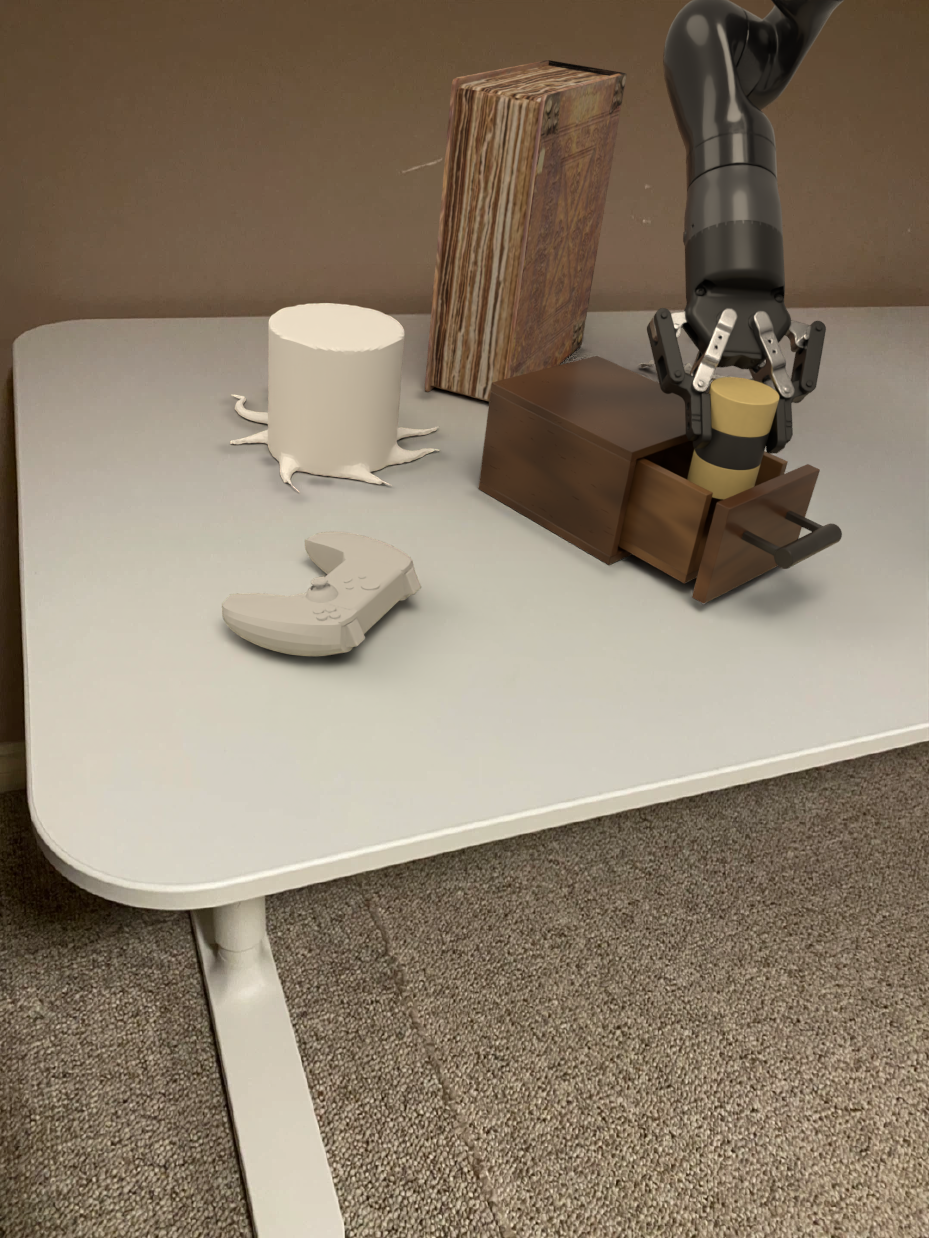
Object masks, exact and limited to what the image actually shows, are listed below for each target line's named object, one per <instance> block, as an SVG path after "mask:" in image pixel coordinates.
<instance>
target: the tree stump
mask: <svg viewBox="0 0 929 1238" xmlns="http://www.w3.org/2000/svg"><path fill="white" fill-rule="evenodd" d="M268 319H269V320H268V328H267V329H268V333H267V334H268V336H267V337H268V339H267V341H268V347H267V351H268V352H267V353H268V354H267V355H268V356H267V357H268V359H267V361H268V362H267V366H268V367H267V368H268V369H267V373H268V374H267V378H268V379H267V388H268V389H267V411H255V410H250V409H247V408H245V406H244V404H245V402H246V401H247V398H246V397H245V396H244V395H239V394H230V397H234V398H236V399H239V400H237V401H236V403H235V405H234V410H235V411H236V412H237V414H238V416H240V417H242V418H244V419H246V420H248V421H253V422H255V423H258V424H259V423H261V424H266V425H267V428H266V429H265V430H262V431H259V432H257V433H254V434H251V435H249V436H245V437H241V438H237V439H233V440H232V439H231V440H229V443H230V445H241V444H257V443H258V444H266V445H267V447H268V451H269V452H270V454H271V456H272V457H273V458H274V459H275V460H276V461H277V462H278V463H279V476H280V477H281V480H282V482H283V484H284V483H285V484H289V485H290V486H291V487H292V488H294V489H295V490H296V491H297V492H299V493H301V492H300V490H299V489H297V488H296V487H295V486H294V484H293V483H292V476H293V474H294V473H295V472H304V473H309V474H310V475H315V476H318V475H320V476H323V477H327V476H328V477H333V478H339V479H340V478H342V479H345V478H346V479H349V480H358V481H360V482H365V483H369V484H376V485H389V486H391V487H393V485H392V484H390V483H388V482H386V481H385V480H382V479H381V478H380V477H378V476H377V475H374V474H373V473H372V472H376V471H380V470H382V469H384V468H387V467H389V466H391V465H392V466H393V465H397V464H400V465H401V464H404V463H411V462H412V461H415V460H418V459H420V458H423V457H424V456H425V455H428V454H430V453H433V452H434V451H436V452H439V451H440V449H439V448H432V447H431V448H428V447H427V448H420V449H415V450H408V449H405V448H402V447H401V446H399V445H398V441H399V440H400V439H401V440H402V439H403V438H409V437H415V436H424V435H425V436H426V435H429V434H431V433H432V432H433V433H434V432H436V431H437V429H438V428H440V425H438V426H434V427H431V428H424V429H422V428H421V429H420V428H418V429H417V428H416V429H415V428H410V427H403V426H402V427H400V426H399V415H400V413H399V412H400V404H401V403H400V401H401V391H402V390H401V388H402V375H403V364H404V363H403V361H404V349H405V348H404V347H405V336H406V334H405V333H406V332H405V329H404V326H403V325H402V324H401V323H400V322H399V321H398V320H397V319H396V318H394V317H393V316H391V315H389V314H385V313H384V312H382V311H380V310H377V309H373V308H369V307H362V306H358V305H351V304H348V303H347V304H346V303H334V302H333V303H331V302H330V303H329V302H320V303H317V302H314V303H304V304H296V305H294V306H287V307H283V308H281V309H279V310H276V312H275V313H273V314H271V316H270V317H269V318H268Z"/></svg>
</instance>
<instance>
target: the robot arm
mask: <svg viewBox="0 0 929 1238" xmlns="http://www.w3.org/2000/svg"><path fill="white" fill-rule="evenodd" d="M770 1H771V2H772V3H773V8H772V9H771V10H770V11H769V13H767V14H766V15H765V17H763V18H761V17H759V16H757V15H756V14H754V13H752V12H750V11H749V10H748V9H745V8H743V7H742V6H739V5H738V4H736V3H735V2H732V1H731V0H690V1H689V2H687V3H686V4H685V5H684V6H683V7H681V9H680V10H679V11H678V13H677V14H676V16H675V17H674V19H673V20H672V22H671V24H670V26H669V29H668V31H667V34H666V37H665V42H664V45H663V54H662V55H663V57H662V67H663V68H662V69H663V79H664V84H665V88H666V90H667V95H668V99H669V102H670V107H671V109H672V112H673V116H674V119H675V123H676V126H677V129H678V132H679V135H680V138H681V139H682V142H683V146H684V148H685V166H686V167H685V170H686V171H685V173H686V176H685V177H686V178H685V179H686V202H685V208H684V209H685V210H684V218H683V227H684V228H683V229H684V230H683V233H682V242H683V245H684V268H685V269H684V274H685V275H684V277H685V279H684V280H685V300H686V305H685V308H684V309H683V311H676V312H675V311H674V312H671V311H670V310H669V308H666V307H660V308H659V309H657V310H656V312H655V313H654V315H653V316H652V318H651V319H650V321H649V322H648V324H647V326H646V332H647V337H648V341H649V346H650V349H651V353H652V358H653V360H654V363H655V364H654V367H655V372H656V375H657V379H658V383H659V384H660V388H661V390H662V391H663V392H664V393H666V394H671V393H674V394H676V395H678V396H680V397H681V398H682V399H683V400H684V402H685V421H686V422H685V426H686V436H687V438H688V440H690V441H693V447H694V448H699V449H704V448H705V447H706V446H707V445H708V444H709V443H710V441H711V438H712V426H711V395H710V394H708V393H707V389H709V387H710V384H711V382H712V381H711V379H712V376H713V373H714V374H715V371H716V369H717V368H728V367H734V368H738V369H741V370H748V371H749V374H750V375H751V378H753V380H754V381H757V382H760V383H763V384H765V385H767V386H769V387H771V388H773V389H774V390H775V391H776V392H777V393H778V394H779V401H778V405H777V408H776V412H775V416H774V419H773V423H772V426H771V430H770V433H769V437H768V440H767V444H766V447H765V451H766V452H767V453H770V454H773V455H776V454H779V453H780V452H781V451H783V449H785V447H786V446H787V444H789V442H791V440H792V439H793V438H792V437H793V436H794V432H793V430H794V429H793V409H792V408H793V407H792V406H793V405H792V404H799V403H801V402H802V401H803V400H804V399H805V398H806V397H807V396H808V395H809V394H811V393H813V391H815V390H816V388H817V385H818V379H819V372H820V366H821V361H822V355H823V351H824V350H823V349H824V344H825V337H826V332H827V327H826V324H825V323H824V321H823V322H822V320H815V321H813V322H812V323H811V324H808V323H804V322H801V321H797V320H794V319H792V317H791V314H790V313H789V311H788V309H787V307H786V303H785V295H786V277H785V274H786V273H785V256H784V255H785V251H784V231H783V230H784V229H783V209H782V202H781V197H780V193H779V185H778V184H779V183H778V167H777V165H778V164H777V162H778V161H777V147H776V145H777V143H776V134H775V130H774V126H773V123H772V122H771V120H770V119H769V118H768V116H767V115H766V114H765V113H764V112H763V111H762V110H764V109H765V108H767V107H769V106H771V104H773V103H774V102H775V101H776V100H777V99H778V98H779V97H780V96H781V95H782V94H783V92H784V91H785V90H786V88H787V87H788V85H789V84H790V82H792V79H793V78H794V76H795V74H796V72H797V71H798V69H799V67H800V66H801V64H802V62H803V61H804V59H805V57H806V56H807V54H808V52H809V51H810V50H811V48H812V46H813V44H814V43H815V42H816V40H817V38H818V36H819V35H820V34H821V32H822V30H823V28H824V26H825V25H826V23H827V21H828V20H829V18H830V17H831V15H832V14H833V12H834V11H835V10H836V9H837V8H838V7H839V6H840V5H841V4H842V3H843V2H844V1H845V0H770ZM682 330H683V331H684V332H685V333H686V335H687V336H688V337H689V339H690V340H691V342H692V343H693V344H694V346H695V347H696V349H697V350H698V351H697V354H696V356H695V359H694V362H693V364H692V365H691V366H692V369H691V372H690V375H689V374H687V373H685V370H684V366H685V365H684V361H683V358H682V354H681V348H680V345H679V341H678V338H680V336H681V334H682ZM784 337H786V338H788V340H789V345H790V351H791V352H792V353H795V354H794V359H793V365H792V370H791V375H789V373H788V371H787V368H786V367H787V360H786V357H785V354H784V353H783V350H782V348H781V345H780V344H779V343H781V341H782V339H783V338H784ZM710 381H711V382H710Z"/></svg>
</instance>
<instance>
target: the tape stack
mask: <svg viewBox="0 0 929 1238" xmlns="http://www.w3.org/2000/svg"><path fill="white" fill-rule="evenodd" d="M750 379H751V378H744V377H737V376H730V377H725V376H724V377H723V378H718V379H715V380H712V381H711V382H710V384H709V386H708V392H707V394H710V395H711V426H712V438H711V441H710V443H709V444H708V445H707V446H706V447H705V448H704V449H699V448H695V449H694V453H693V457H692V461H691V465H690V469H689V473H688V478H687V480H689V481H691V482H693V483H695V484H697V485H699V486H701V487H703V488H705V489H707V490H709V491H711V492H713V495H712V497H713V498H717V499H722V500H724V499H726V498H729V497H731V496H733V495H736V494H738V493H740V492H743V491H745V490H748V489H750V488H752V487H754V486H755V482H756V479H757V475H758V472H759V468H760V465H761V461H762V458H763V454H764V451H766V444H767V440H768V437H769V433H770V430H771V426H772V423H773V419H774V416H775V412H776V408H777V405H778V401H779V394H778V393H777V392H776V391H775V390H774V389H773V388H771V387H769V386H767V385H765V384H763V383H760V382H757V381H754V380H750Z"/></svg>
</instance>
